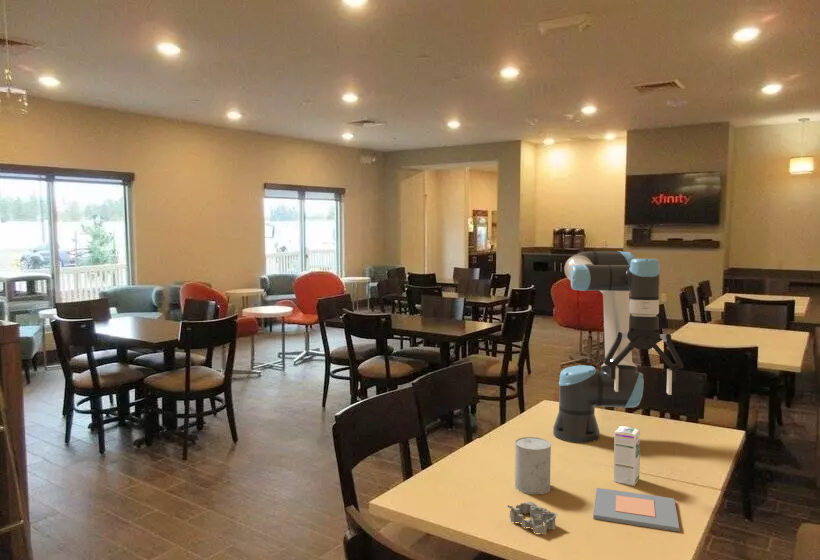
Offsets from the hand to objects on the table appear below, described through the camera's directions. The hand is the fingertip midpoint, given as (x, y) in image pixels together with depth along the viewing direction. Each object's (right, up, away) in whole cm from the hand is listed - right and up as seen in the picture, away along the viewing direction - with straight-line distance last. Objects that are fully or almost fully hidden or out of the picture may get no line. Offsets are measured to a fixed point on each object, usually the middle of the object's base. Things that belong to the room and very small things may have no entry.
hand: (642, 392), depth 163 cm
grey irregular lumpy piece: (-34, -28, -21) cm, 49 cm away
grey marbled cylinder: (-30, -26, -1) cm, 40 cm away
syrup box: (-3, -25, +3) cm, 26 cm away
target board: (-8, -27, -15) cm, 31 cm away
